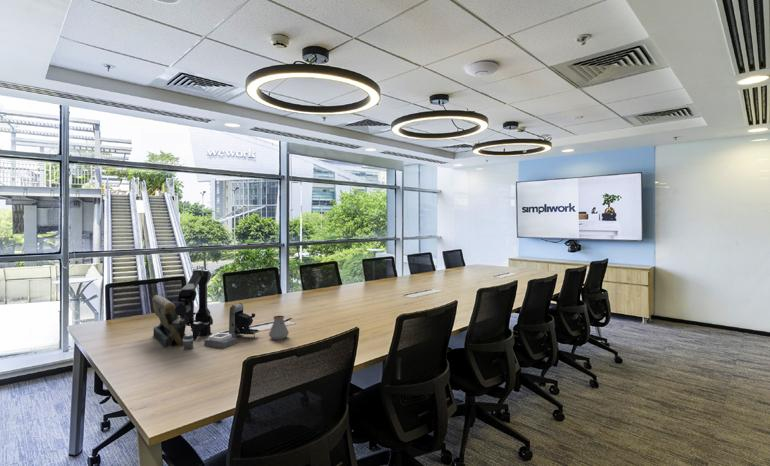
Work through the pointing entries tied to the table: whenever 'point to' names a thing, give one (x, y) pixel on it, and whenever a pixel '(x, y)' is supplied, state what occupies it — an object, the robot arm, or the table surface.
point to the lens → (188, 342)
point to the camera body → (220, 340)
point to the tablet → (165, 322)
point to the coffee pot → (279, 328)
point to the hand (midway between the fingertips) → (188, 339)
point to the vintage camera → (240, 321)
